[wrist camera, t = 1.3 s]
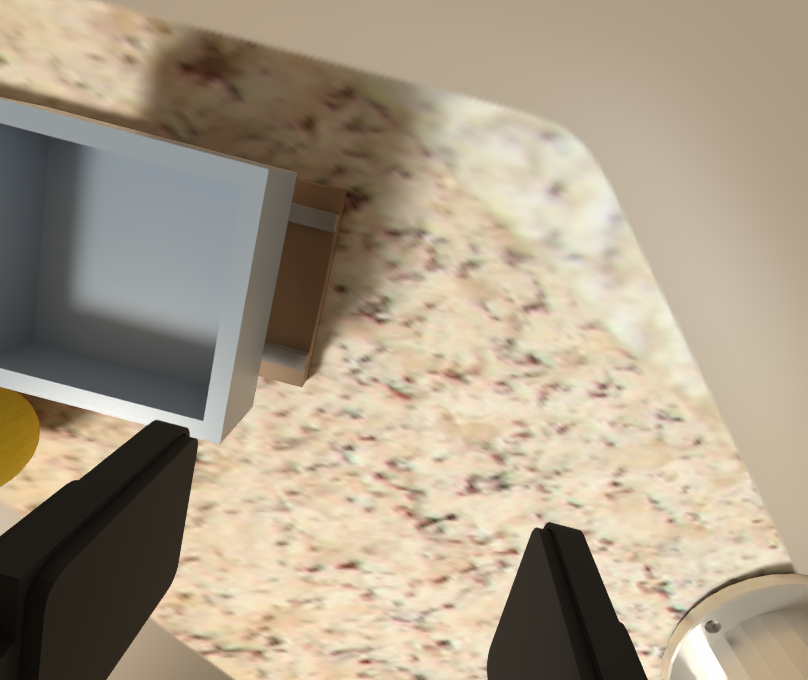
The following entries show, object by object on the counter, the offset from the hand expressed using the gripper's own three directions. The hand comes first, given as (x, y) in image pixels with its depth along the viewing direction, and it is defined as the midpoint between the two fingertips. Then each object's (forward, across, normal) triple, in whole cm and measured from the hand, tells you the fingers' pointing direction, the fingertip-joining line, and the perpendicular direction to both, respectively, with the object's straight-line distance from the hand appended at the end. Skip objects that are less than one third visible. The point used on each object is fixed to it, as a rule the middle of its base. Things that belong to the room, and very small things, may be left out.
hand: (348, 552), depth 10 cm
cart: (+18, +11, 0) cm, 21 cm away
